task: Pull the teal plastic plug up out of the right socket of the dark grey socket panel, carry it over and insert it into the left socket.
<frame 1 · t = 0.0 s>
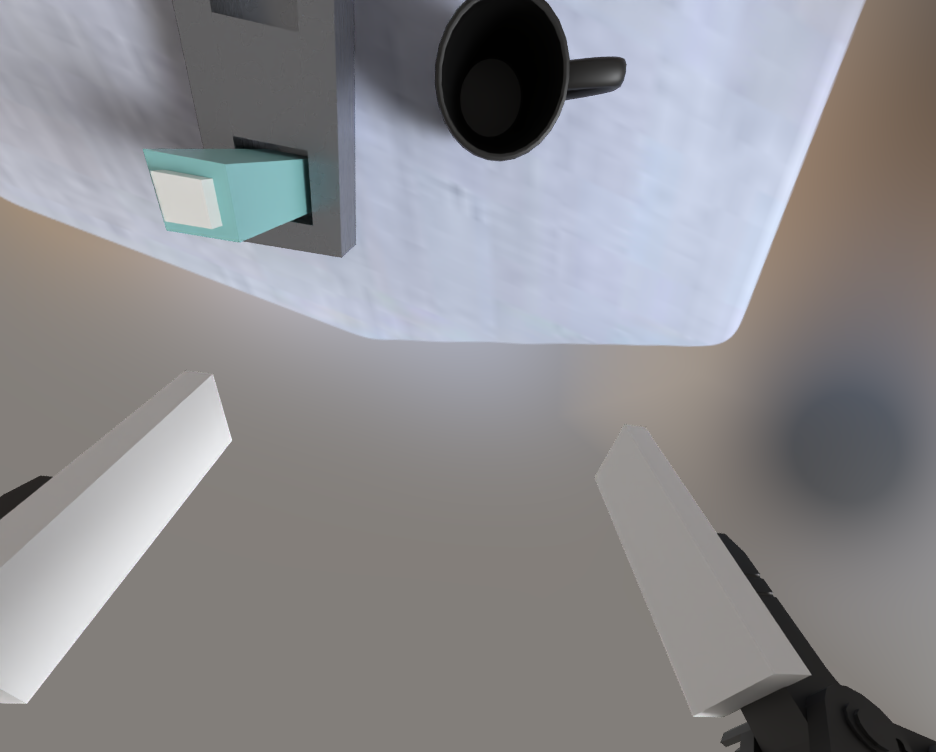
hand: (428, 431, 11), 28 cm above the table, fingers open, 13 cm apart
socket panel: (292, 96, 28), on the table
mug: (512, 99, 29), on the table
plug: (295, 179, 31), point 1 cm above the table, touching socket panel
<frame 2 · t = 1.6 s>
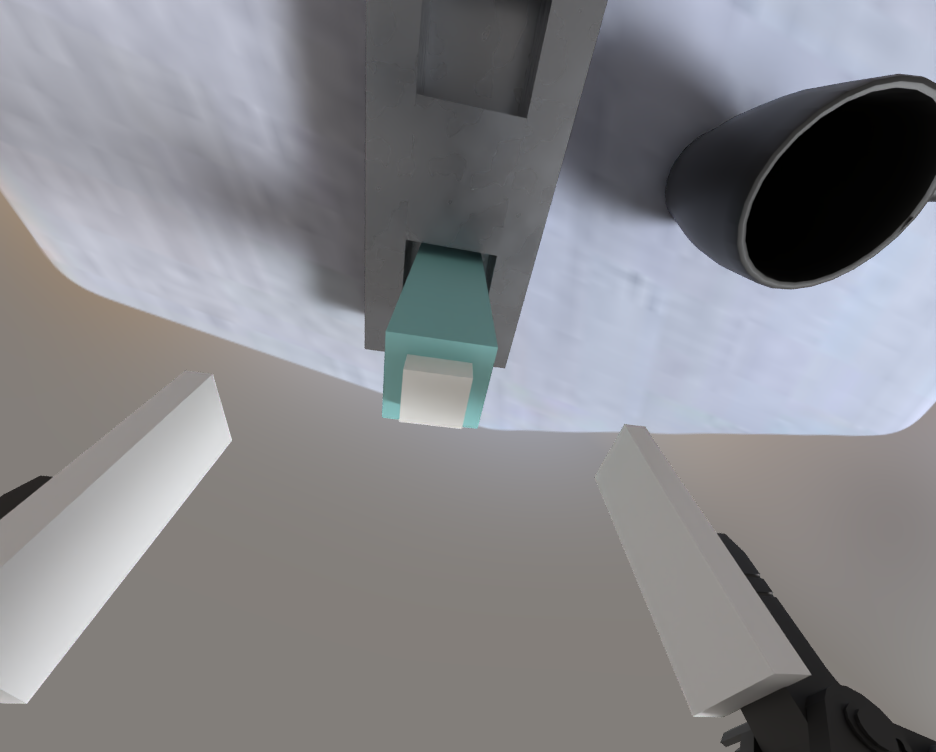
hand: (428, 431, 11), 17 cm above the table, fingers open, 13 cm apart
socket panel: (461, 176, 22), on the table
mug: (734, 178, 23), on the table
plug: (448, 271, 25), point 1 cm above the table, touching socket panel
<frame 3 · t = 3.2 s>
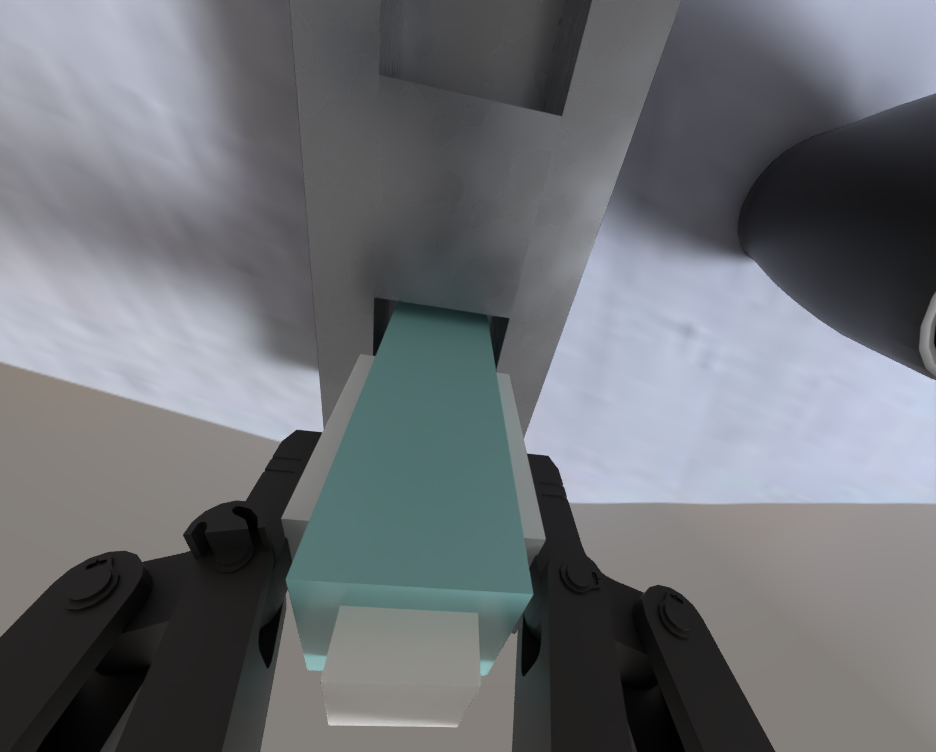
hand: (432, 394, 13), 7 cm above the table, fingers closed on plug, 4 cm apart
socket panel: (456, 200, 16), on the table
mug: (835, 201, 16), on the table
plug: (439, 325, 18), point 1 cm above the table, touching gripper, socket panel
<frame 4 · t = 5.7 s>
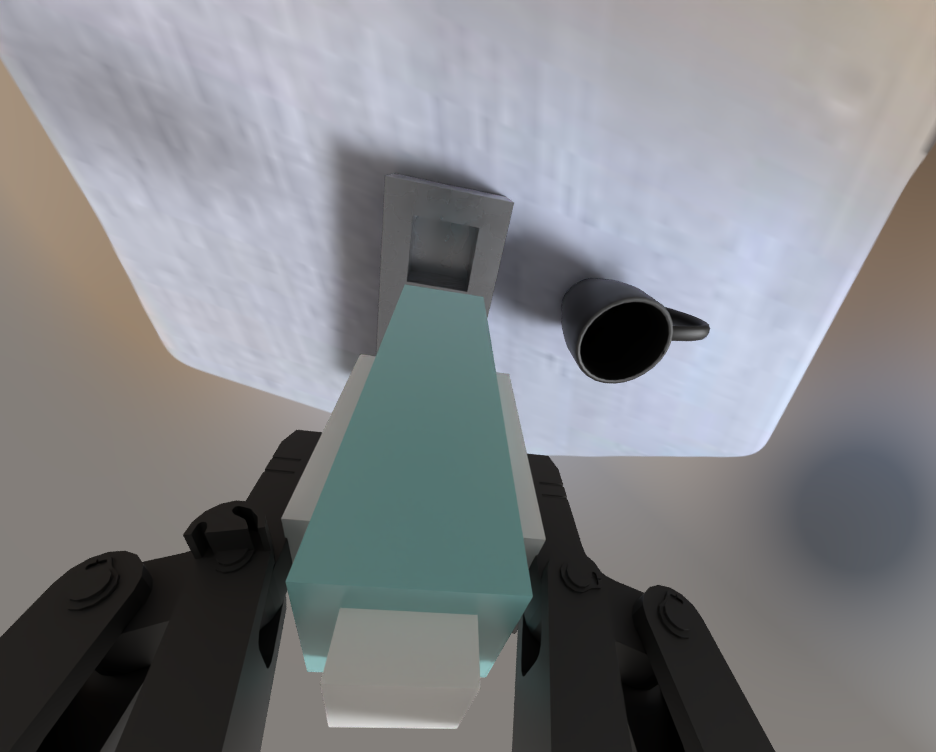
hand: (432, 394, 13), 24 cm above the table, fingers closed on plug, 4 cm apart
socket panel: (435, 302, 36), on the table
mug: (603, 302, 37), on the table
plug: (439, 326, 18), point 18 cm above the table, touching gripper
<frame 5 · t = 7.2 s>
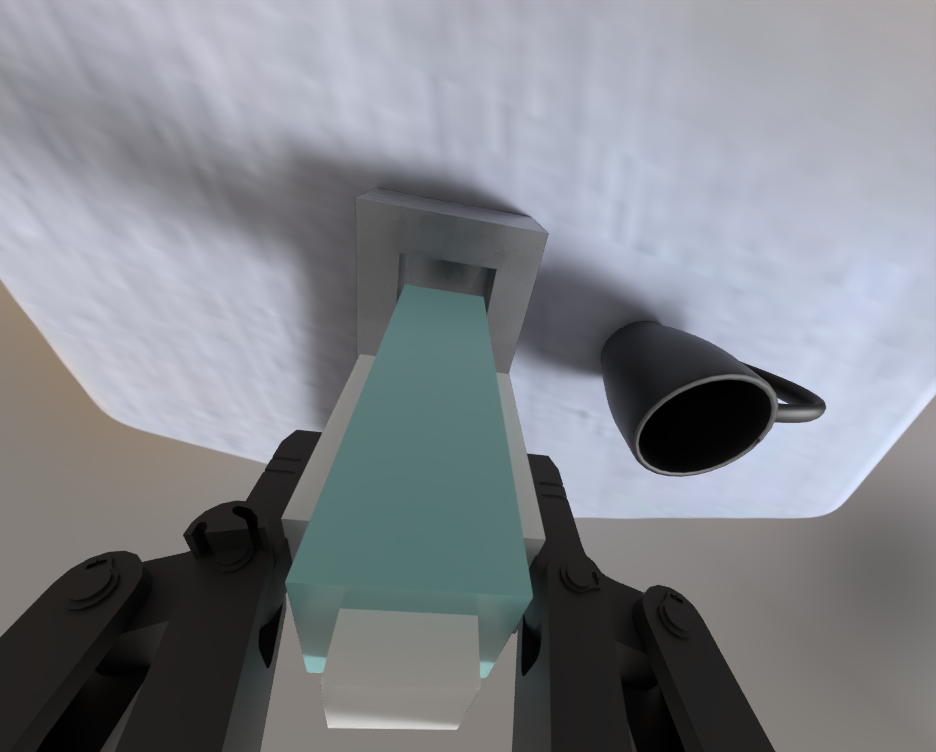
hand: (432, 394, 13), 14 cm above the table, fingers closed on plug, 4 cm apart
socket panel: (435, 351, 28), on the table
mug: (656, 349, 28), on the table
plug: (439, 326, 18), point 7 cm above the table, touching gripper
when the fingers open (9 cm above the table, at t = 8.4 s): plug drops 2 cm, resting on socket panel.
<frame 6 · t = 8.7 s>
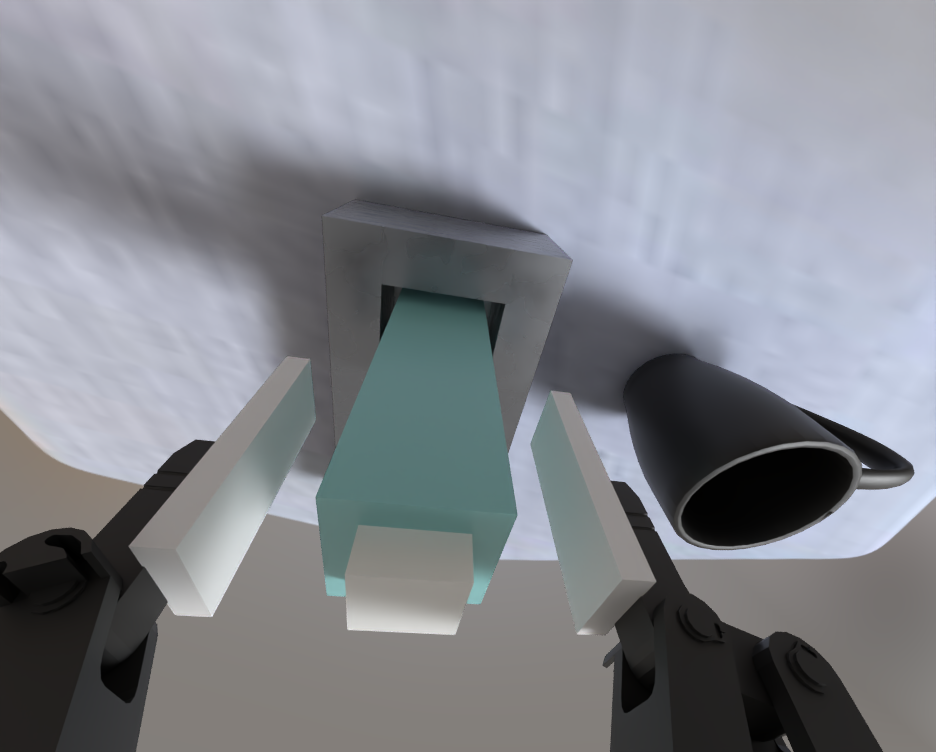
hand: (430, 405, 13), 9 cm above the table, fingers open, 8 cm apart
socket panel: (430, 388, 24), on the table
mug: (688, 384, 24), on the table
plug: (440, 314, 19), point 1 cm above the table, touching socket panel
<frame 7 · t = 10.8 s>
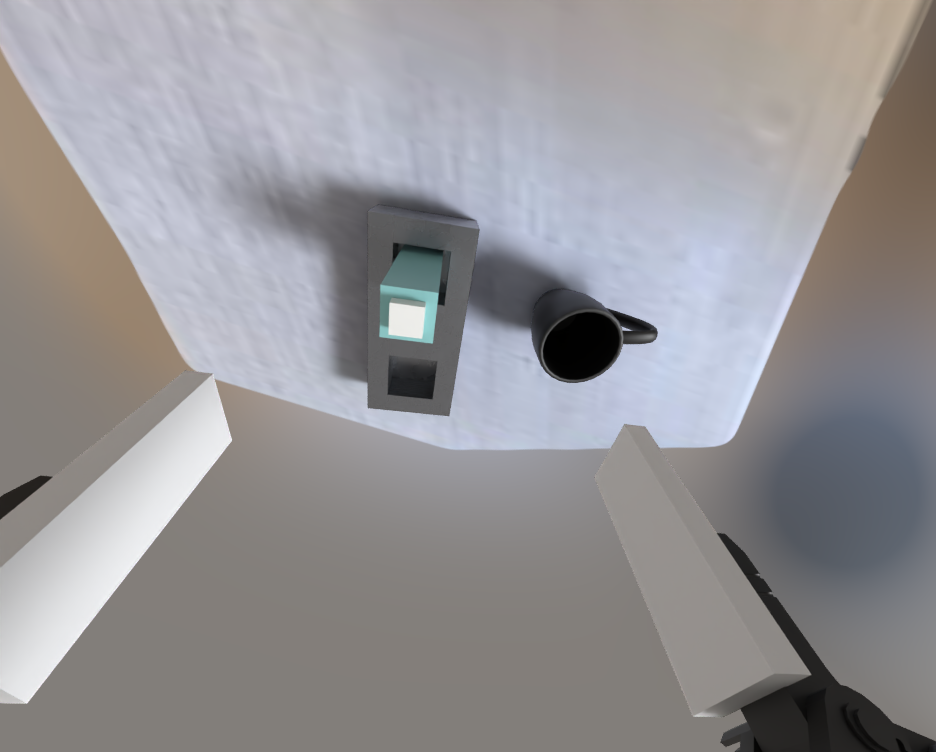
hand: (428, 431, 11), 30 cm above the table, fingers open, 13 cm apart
socket panel: (419, 313, 40), on the table
mug: (571, 309, 41), on the table
plug: (423, 264, 36), point 1 cm above the table, touching socket panel
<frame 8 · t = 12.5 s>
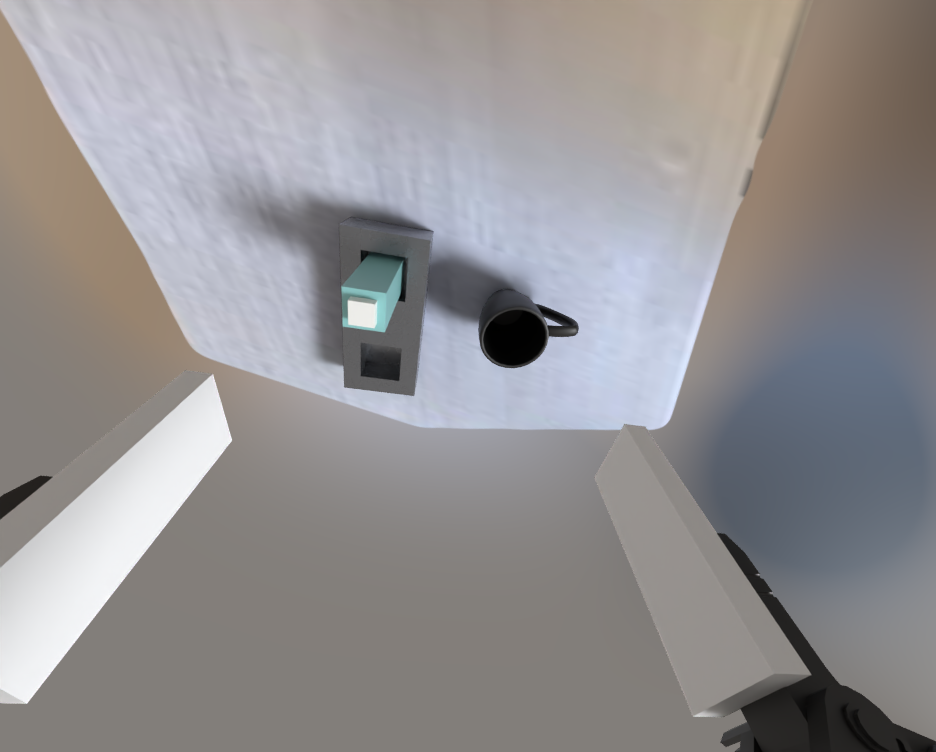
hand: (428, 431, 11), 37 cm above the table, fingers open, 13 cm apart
socket panel: (388, 307, 48), on the table
mug: (518, 306, 48), on the table
plug: (389, 267, 44), point 1 cm above the table, touching socket panel
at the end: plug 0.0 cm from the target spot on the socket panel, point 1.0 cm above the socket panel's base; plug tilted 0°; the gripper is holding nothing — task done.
